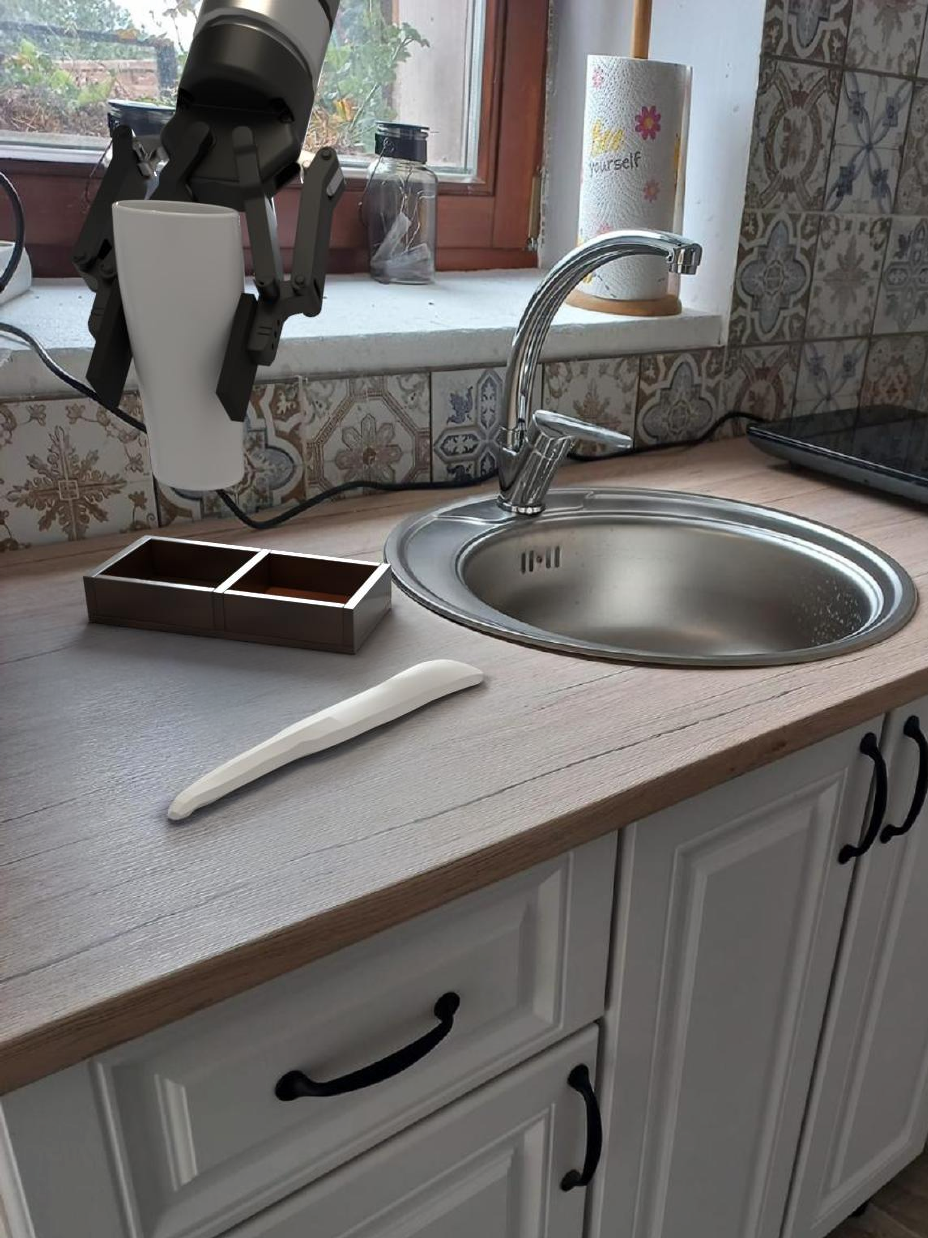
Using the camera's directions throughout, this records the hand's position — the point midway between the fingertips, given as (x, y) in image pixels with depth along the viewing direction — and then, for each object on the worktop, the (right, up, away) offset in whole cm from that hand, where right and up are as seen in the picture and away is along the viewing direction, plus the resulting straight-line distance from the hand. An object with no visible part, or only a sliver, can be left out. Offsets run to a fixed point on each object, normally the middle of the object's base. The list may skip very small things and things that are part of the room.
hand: (166, 399), depth 69 cm
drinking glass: (0, -3, +6) cm, 7 cm away
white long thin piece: (+7, -18, +11) cm, 22 cm away
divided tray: (-4, -7, +28) cm, 29 cm away
